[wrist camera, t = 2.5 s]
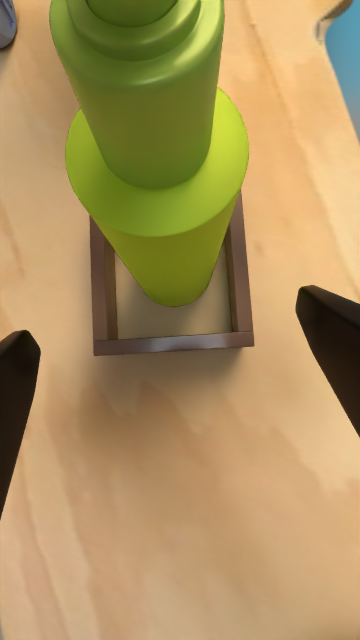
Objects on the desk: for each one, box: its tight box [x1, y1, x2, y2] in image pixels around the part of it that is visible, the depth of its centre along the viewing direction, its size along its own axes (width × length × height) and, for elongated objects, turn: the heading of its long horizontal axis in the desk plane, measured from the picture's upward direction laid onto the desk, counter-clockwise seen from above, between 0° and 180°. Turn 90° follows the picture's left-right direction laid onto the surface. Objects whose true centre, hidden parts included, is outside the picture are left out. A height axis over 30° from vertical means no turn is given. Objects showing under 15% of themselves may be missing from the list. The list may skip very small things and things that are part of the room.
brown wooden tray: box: [90, 189, 254, 356], centre depth 20 cm, size 12×11×3 cm
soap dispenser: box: [49, 0, 249, 307], centre depth 12 cm, size 6×7×20 cm
